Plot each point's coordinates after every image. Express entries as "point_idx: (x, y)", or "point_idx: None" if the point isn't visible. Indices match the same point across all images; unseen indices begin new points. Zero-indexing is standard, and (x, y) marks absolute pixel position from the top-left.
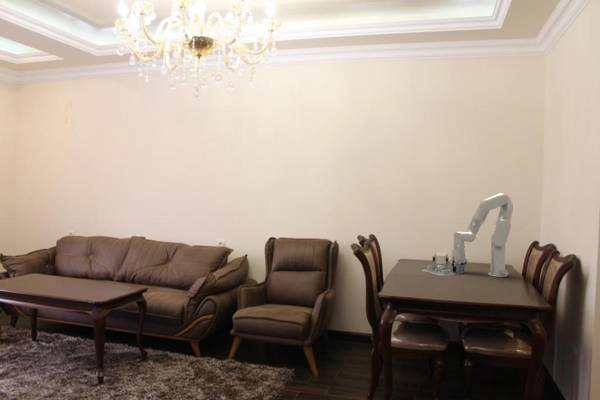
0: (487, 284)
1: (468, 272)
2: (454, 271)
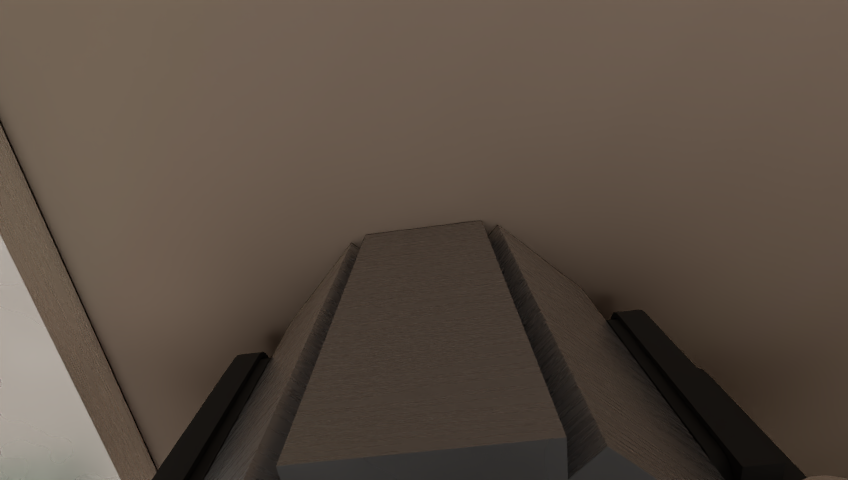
0: None
1: (785, 378)
2: None
